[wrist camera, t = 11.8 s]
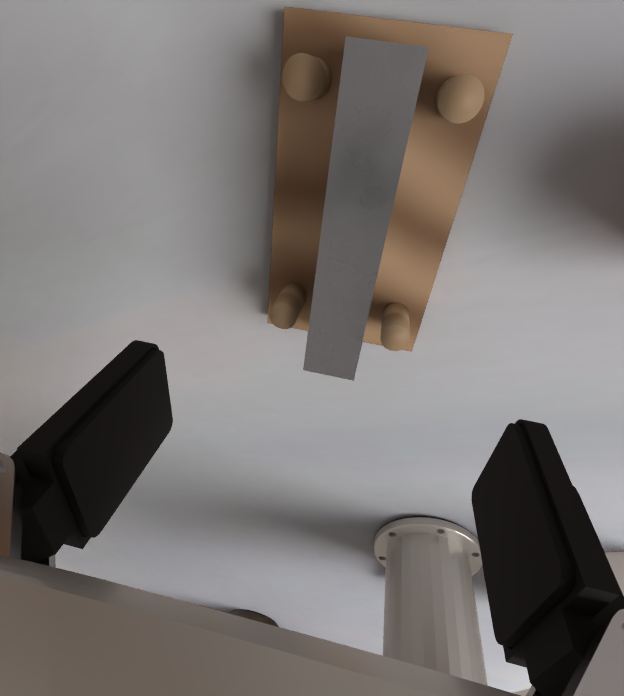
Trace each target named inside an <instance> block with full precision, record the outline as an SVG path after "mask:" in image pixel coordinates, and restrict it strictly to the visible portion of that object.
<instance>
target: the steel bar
mask: <svg viewBox="0 0 624 696" xmlns="http://www.w3.org/2000/svg"><path fill="white" fill-rule="evenodd" d="M428 49H429V47H425V46H417V45H409V44H401V43H394V42H386V41H378V40H370V39H362V38H354V37H346V38H345V46H344V54H343V62H342V70H341V78H340V85H339V93H338V101H337V109H336V117H335V125H334V133H333V140H332V148H331V156H330V164H329V172H328V180H327V188H326V196H325V203H324V211H323V219H322V227H321V235H320V243H319V251H318V258H317V266H316V274H315V282H314V290H313V298H312V306H311V313H310V321H309V329H308V337H307V345H306V353H305V361H304V368H303V370H306V371H311V372H316V373H320V374H325V375H330V376H335V377H339V378H344V379H349V380H354V377H355V372H356V368H357V363H358V359H359V354H360V350H361V346H362V341H363V337H364V332H365V328H366V324H367V319H368V315H369V310H370V306H371V301H372V297H373V293H374V288H375V284H376V279H377V275H378V270H379V266H380V262H381V257H382V253H383V248H384V244H385V239H386V235H387V231H388V226H389V222H390V217H391V213H392V208H393V204H394V200H395V195H396V191H397V186H398V182H399V178H400V173H401V169H402V164H403V160H404V155H405V151H406V147H407V142H408V138H409V133H410V129H411V124H412V120H413V116H414V111H415V107H416V102H417V98H418V93H419V89H420V85H421V80H422V76H423V71H424V67H425V63H426V58H427V54H428Z"/></svg>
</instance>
